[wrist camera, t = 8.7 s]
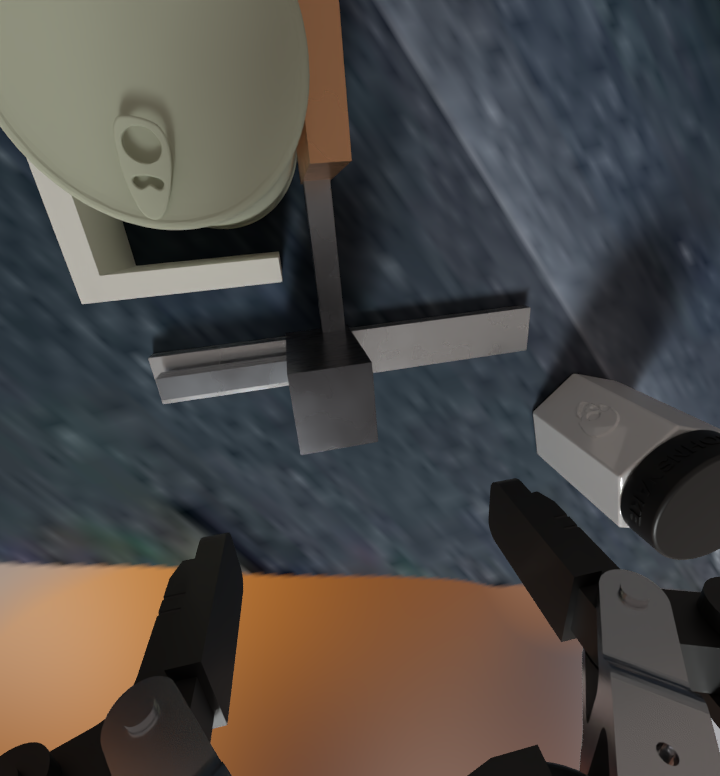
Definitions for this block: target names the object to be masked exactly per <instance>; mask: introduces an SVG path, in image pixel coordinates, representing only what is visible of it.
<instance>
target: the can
mask: <svg viewBox="0 0 720 776" xmlns="http://www.w3.org/2000/svg"><path fill="white" fill-rule="evenodd" d="M309 79H310V74H309V54H308V45H307V38H306V32H305V27H304V22H303V18H302V14H301V10H300V6H299V3H298V0H0V127H1V128H2V129H3V131H4V132H5V133H6V135H7V136H8V137H9V138H10V140H11V141H12V142H13V143H14V144H15V145H16V147H17V148H18V149H19V150H20V151H21V152H22V153H23V154H24V155H25V156H26V158H27V159H28V160H29V161H30V162H31V163H32V164H33V165H34V166H35V167H36V168H37V169H38V170H39V171H41V172H42V173H43V174H44V175H46V176H47V177H48V178H49V179H50V180H52V181H53V182H54V183H55V184H56V185H58V186H59V187H60V188H62V189H63V190H65V191H66V192H67V193H69V194H70V195H72V196H73V197H75V198H76V199H78V200H80V201H81V202H83V203H84V204H86V205H88V206H90V207H92V208H94V209H96V210H98V211H100V212H102V213H104V214H107V215H109V216H111V217H114V218H116V219H119V220H122V221H125V222H128V223H132V224H136V225H139V226H143V227H148V228H154V229H162V230H190V229H198V228H204V227H208V228H214V229H232V228H239V227H243V226H246V225H249V224H252V223H254V222H256V221H258V220H260V219H261V218H263V217H264V216H266V215H267V214H268V213H270V212H271V211H272V210H273V209H274V208H275V207H276V206H277V205H278V204H279V202H280V201H281V200H282V198H283V197H284V195H285V193H286V192H287V190H288V188H289V186H290V184H291V181H292V178H293V175H294V171H295V167H296V161H297V152H296V147H297V145H298V142H299V139H300V136H301V133H302V129H303V125H304V121H305V116H306V111H307V106H308V96H309Z"/></svg>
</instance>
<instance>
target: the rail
mask: <svg viewBox="0 0 720 776" xmlns="http://www.w3.org/2000/svg"><path fill="white" fill-rule="evenodd" d="M529 318H530V307H527V306H524V305H518V306H511V307H503V308H496V309H488V310H480V311H473V312H465V313H457V314H450V315H442V316H435V317H427V318H419V319H412V320H404V321H396V322H389V323H381V324H374V325H366V326H358V327H351V328H350V330H351V331H352V333H353V334H354V336H355V337H356V339H357V340H358V342H359V343H360V345H361V346H362V348H363V349H364V351H365V352H366V354H367V356H368V357H369V359H370V360H371V362H372V369H373V373H375V372H382V371H389V370H395V369H402V368H409V367H415V366H422V365H429V364H436V363H442V362H449V361H456V360H462V359H469V358H476V357H483V356H489V355H496V354H503V353H509V352H516V351H523V350H526V348H527V338H528V328H529ZM284 355H286V336H282V337H274V338H267V339H259V340H252V341H244V342H236V343H229V344H221V345H214V346H206V347H198V348H191V349H183V350H175V351H168V352H160V353H153V354H152V355H151V356H150V357H149V358H148V359H149V362H150V365H151V368H152V372H153V375H154V378H155V379H156V378H157V377H158V375H159V374H160V373H161V372H168V371H175V370H182V369H190V368H197V367H204V366H211V365H219V364H226V363H233V362H240V361H248V360H255V359H262V358H269V357H277V356H284ZM155 381H156V380H155ZM156 384H157V383H156ZM288 385H289V383H288V382H284V383H277V384H270V385H263V386H257V387H250V388H243V389H236V390H230V391H223V392H216V393H209V394H202V395H196V396H189V397H182V398H175V399H169V400H162V402H163V404H167V403H174V402H181V401H187V400H194V399H201V398H207V397H214V396H221V395H228V394H234V393H241V392H248V391H254V390H261V389H268V388H275V387H281V386H288ZM157 387H158V386H157ZM158 390H159V389H158ZM159 393H160V392H159ZM160 396H161V395H160Z"/></svg>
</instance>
